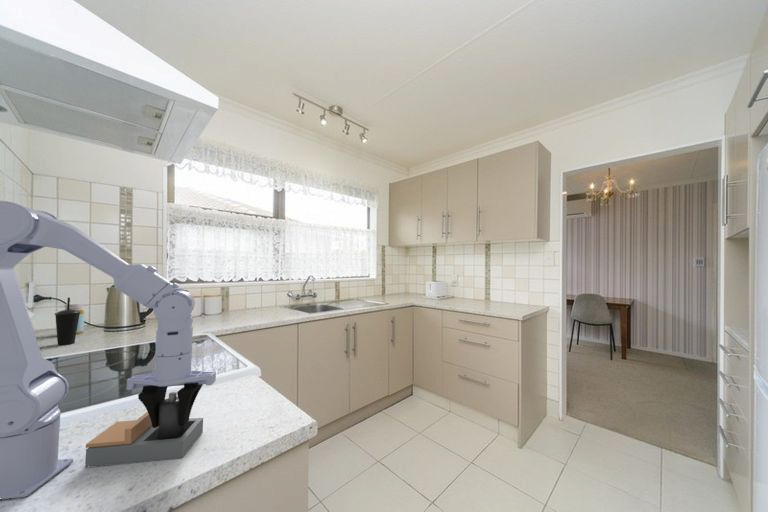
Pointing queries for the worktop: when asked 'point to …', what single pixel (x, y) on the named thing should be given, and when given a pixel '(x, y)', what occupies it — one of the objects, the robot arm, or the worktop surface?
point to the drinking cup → (67, 325)
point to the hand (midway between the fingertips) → (171, 423)
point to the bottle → (81, 317)
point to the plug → (169, 418)
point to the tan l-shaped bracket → (122, 432)
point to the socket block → (146, 447)
